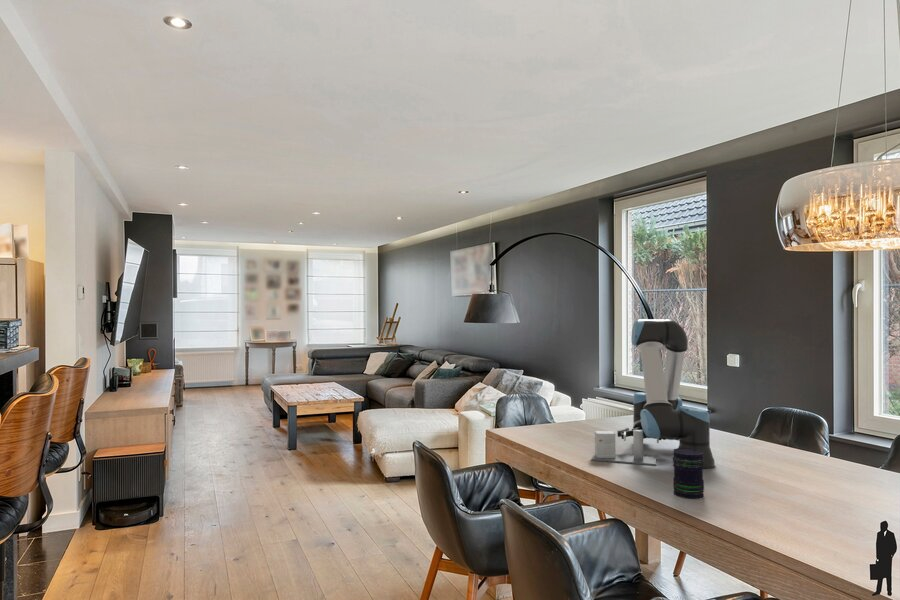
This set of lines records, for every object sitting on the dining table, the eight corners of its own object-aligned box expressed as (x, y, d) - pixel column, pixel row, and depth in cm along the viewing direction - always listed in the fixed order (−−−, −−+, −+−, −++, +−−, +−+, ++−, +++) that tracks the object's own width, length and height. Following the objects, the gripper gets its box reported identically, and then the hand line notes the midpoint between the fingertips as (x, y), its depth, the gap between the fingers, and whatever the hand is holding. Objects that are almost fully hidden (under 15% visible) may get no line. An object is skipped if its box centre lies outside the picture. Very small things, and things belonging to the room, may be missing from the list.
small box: (613, 455, 252) (613, 430, 253) (615, 458, 247) (615, 433, 247) (594, 454, 253) (594, 430, 253) (596, 457, 248) (596, 433, 248)
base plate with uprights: (655, 458, 249) (655, 429, 249) (656, 465, 238) (655, 434, 238) (593, 453, 257) (593, 425, 258) (591, 460, 246) (591, 430, 246)
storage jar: (685, 500, 194) (685, 455, 194) (667, 491, 203) (666, 449, 203) (710, 497, 196) (710, 453, 197) (690, 489, 206) (690, 447, 206)
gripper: (670, 439, 265) (672, 449, 245) (613, 435, 273) (611, 445, 253) (670, 422, 265) (671, 432, 245) (613, 419, 273) (611, 428, 253)
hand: (641, 438), depth 249 cm, fingers open, 13 cm apart
